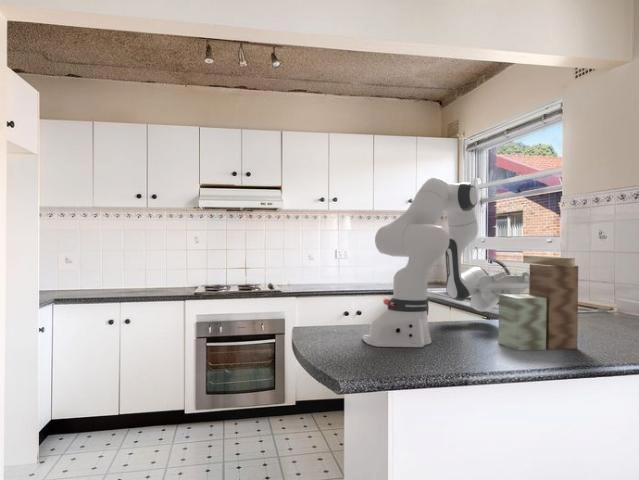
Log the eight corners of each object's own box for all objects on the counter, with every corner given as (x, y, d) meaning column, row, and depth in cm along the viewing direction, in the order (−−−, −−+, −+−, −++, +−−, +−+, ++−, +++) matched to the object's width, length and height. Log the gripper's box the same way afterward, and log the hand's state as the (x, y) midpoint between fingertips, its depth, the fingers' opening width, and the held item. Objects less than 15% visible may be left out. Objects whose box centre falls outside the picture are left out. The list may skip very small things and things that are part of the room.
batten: (567, 266, 139) (567, 258, 139) (523, 262, 161) (523, 255, 161) (574, 266, 139) (574, 258, 139) (529, 262, 161) (529, 255, 161)
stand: (516, 350, 139) (517, 265, 139) (498, 343, 149) (499, 264, 149) (577, 348, 143) (578, 266, 143) (555, 341, 153) (556, 264, 153)
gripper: (470, 281, 179) (487, 265, 167) (517, 281, 182) (537, 266, 170) (474, 296, 175) (491, 281, 164) (522, 296, 179) (542, 281, 167)
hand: (515, 273), depth 167 cm, fingers open, 8 cm apart
